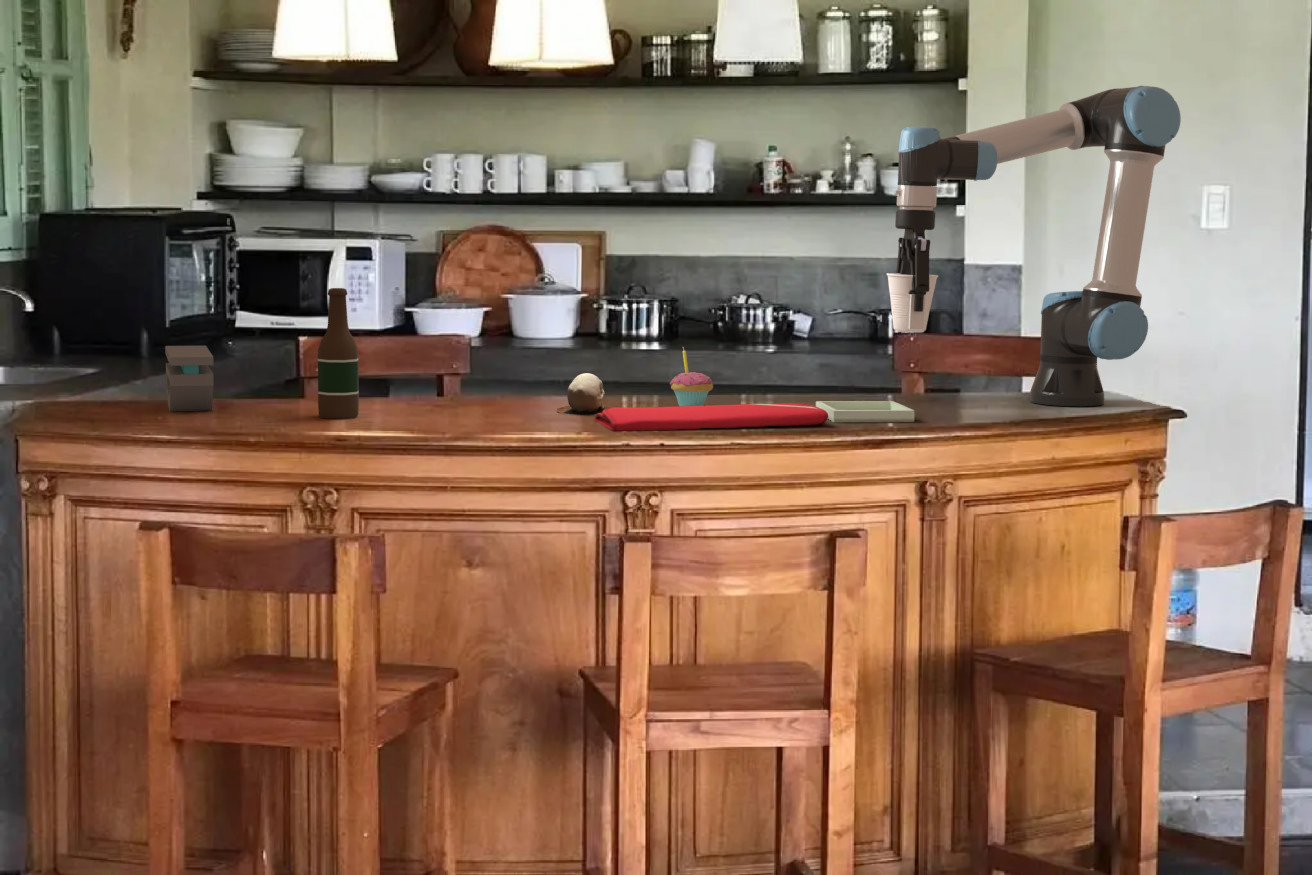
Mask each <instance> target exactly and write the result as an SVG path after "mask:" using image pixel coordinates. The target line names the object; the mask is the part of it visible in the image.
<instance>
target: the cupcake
mask: <svg viewBox="0 0 1312 875" xmlns="http://www.w3.org/2000/svg"><path fill="white" fill-rule="evenodd" d="M682 350H683V351H682V357H683V358H682V359H683V365H684V371H685V372H682V373H679V374H677V375H676V376H674V377H673V378H672V379H671V380H670V381H669V385H670V388H671V390H673V392H674V394H675V396H676V400H677V403H678V406H705V401H706V399H707V396H708V394H709V392H711V391H712V390H713V388H714V384H713V380H712V379H711V378H710V376H708V375H706V374H705V373H702V372H697V371H696V372H695V371H693V372H692V371H689V367H688V366H689V365H688V356H687V351H686V350H685V348H684V346H682Z"/></svg>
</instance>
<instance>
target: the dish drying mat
mask: <svg viewBox="0 0 1312 875" xmlns="http://www.w3.org/2000/svg"><path fill="white" fill-rule="evenodd" d="M602 413H603V414H602ZM602 413H598V414H596V415H594V420H595V422H596V423H599V424H600V425H602V426H604V427H605V428H607V429H609V430H610V431H611V432H619V431H620V432H621V431H622V432H628V431H631V432H632V431H637V432H638V431H678V430H679V429H685V430H699V429H698V428H726V429H744V428H745V427H748V428H766V427H765V426H780V427H799V425H808V426H817V425H820V424H821V425H823V424H825V423H826V422H827V421H828V413H827V412H826V411H825V410H824V409H821V408H818V407H816V405H813V404H812V405H811V404H808V403H800V402H799V403H797V402H795V403H794V402H791V403H789V402H786V403H750V404H748V403H746V404H743V403H742V404H711V405H707V404H706V405H704V406H679V405H678V406H676V405H675V406H673V405H672V406H671V405H670V406H650V407H649V406H646V407H643V406H642V407H639V406H638V407H637V406H636V407H630V406H629V407H617V408H616V407H615V408H610V409H605V410H603V411H602ZM677 429H678V430H677ZM679 431H680V430H679Z"/></svg>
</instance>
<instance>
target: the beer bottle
mask: <svg viewBox="0 0 1312 875" xmlns="http://www.w3.org/2000/svg"><path fill="white" fill-rule="evenodd" d="M327 295H328V297H329V298H328V312H327V313H328V314H327V326H326V332H325V334H324V336H323V337H322V339H321V340H320V344H319V346H318V350H317V352H318V353H317V402H318V404H317V405H318V408H317V409H318V417H319V419H320V418H321V419H328V420H347V419H349V420H350V419H356V418H357V417H358V415H359V411H360V410H359V406H360V402H359V401H360V400H359V399H360V398H359V397H360V392H359V390H360V388H359V383H360V382H359V378H360V376H359V349H358V346H357V342H356V339H355V338H354V337H353V335H352V334H351V332H350V329H349V323H348V322H349V320H348V309H347V308H348V307H347V295H348V291H347V288H344V287H336V288H335V287H332V288H329V289H328V291H327Z"/></svg>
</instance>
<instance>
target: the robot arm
mask: <svg viewBox="0 0 1312 875" xmlns="http://www.w3.org/2000/svg"><path fill="white" fill-rule="evenodd" d="M1181 120H1182V118H1181V111H1180V107H1179V104H1178V102H1177V101H1176V100H1175V98H1174V97H1173V96H1172V94H1171V93H1170V92H1168V91H1167V90H1166V89H1164V88H1161V87H1159V86H1150V85H1139V86H1132V87H1131V86H1130V87H1122V88H1112V89H1111V88H1110V89H1107V90H1103V91H1100V92H1097V93H1094V94H1091V95H1089V96H1086V97H1083V98H1079V99H1077V100H1074V101H1070V102H1066V103H1063V104H1061V105H1060V107H1059V109H1058V110H1055V111H1054V110H1053V111H1051V112H1047V113H1042V114H1037V115H1034V116H1030V117H1026V118H1023V119H1017V120H1014V121H1009V122H1007V123H1001V124H997V125H993V126H989V127H986V128H982V129H978V130H974V131H969V132H965V133H960V134H957V135H954V136H950V137H945V138H941V131H940V130H939V128H937V127H929V126H926V127H925V126H907V127H904V128H903V129H902V130H901V132H900V138H899V143H898V144H899V145H898V146H899V147H898V149H897V150H898V165H897V166H898V167H897V168H898V171H897V190H895V191H894V196H896V206H897V207H899V209H897V210H896V211H895V228H896V229H899V230H904V234H903V237H899V238H898V242H897V243H898V250H897V251H898V252H897V260H896V270H895V273H900V275H913V278H912V290H910V291H909V294H910V311H909V329H923V327H924V308H925V295H926V292H929V274H930V249H931V239H926V234H925V231H932V230H934V229H935V227H936V212H935V210H934V209H935V208H936V207H937V199H938V198H937V197H938V196H937V195H938V180H952V181H953V180H954V181H955V180H962V181H966V180H967V181H969V180H970V181H975V182H977V181H987V180H990V179H991V178H992V177H993V176H994V174H995V172H996V169H997V166H998V165H999V164H1002V163H1007V162H1010V161H1016V160H1018V159H1022V158H1023V159H1024V158H1028V157H1030V156H1031V157H1032V156H1035V155H1039V154H1043V153H1048V152H1052V151H1056V150H1060V149H1064V148H1068V149H1069V150H1071V151H1075V150H1080V149H1084V148H1092V147H1104V149H1103V153H1104V154H1105V155H1106V157H1107V159H1109V170H1108V175H1107V182H1106V188H1105V195H1104V201H1103V206H1102V208H1103V209H1102V214H1101V222H1100V228H1099V233H1098V240H1097V246H1096V252H1095V259H1094V266H1093V270H1092V271H1093V273H1092V279H1091V281H1090V282H1088V283H1087V284H1086V285H1084V286H1083V287H1082V290H1074V291H1059V292H1051V293H1047V294H1046V295H1045V296H1044V297H1043V299H1042V305H1041V311H1040V314H1041V320H1040V321H1041V328H1040V349H1039V350H1040V353H1039V354H1040V355H1039V357H1040V358H1039V365H1038V369H1037V372H1036V375H1035V377H1034V380H1033V383H1032V386H1031V388H1030V392H1029V402H1030V403H1033V404H1038V405H1047V406H1048V405H1049V406H1057V407H1058V406H1060V407H1062V406H1063V407H1094V406H1095V407H1096V406H1102V405H1104V404H1105V391H1104V388H1103V384H1102V380H1101V378H1100V377H1101V376H1100V374H1099V370H1098V359H1100V360H1106V361H1107V360H1108V361H1111V360H1124V359H1127V358H1129V357H1131V356H1132V355H1134V354H1135V353H1136V352H1138V351H1139V350H1140V349H1141V347H1142V346H1143V345H1144V343H1145V341H1146V338H1147V335H1148V333H1149V332H1148V331H1149V322H1148V317H1147V315H1146V314H1145V311H1144V309H1142V307H1141V304H1142V299H1143V295H1142V293H1141V292H1140V290H1139V289H1138V288H1137V279H1138V274H1139V266H1140V261H1141V260H1140V259H1141V256H1142V255H1141V254H1142V248H1143V241H1144V235H1145V229H1146V228H1145V227H1146V223H1147V222H1146V221H1147V216H1148V209H1149V203H1150V202H1149V201H1150V196H1151V191H1152V190H1151V189H1152V182H1153V178H1154V170H1155V166H1156V165H1157V164H1159V163H1160V162H1161V161H1163V159H1164V156H1165V150H1166V145H1167V144H1169V143H1170V142H1171V141H1172V140H1173V139H1174V138H1176V136H1177V135H1178V133H1179V130H1180V128H1181V127H1180V126H1181V122H1182V121H1181ZM914 294H915V295H914Z"/></svg>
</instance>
